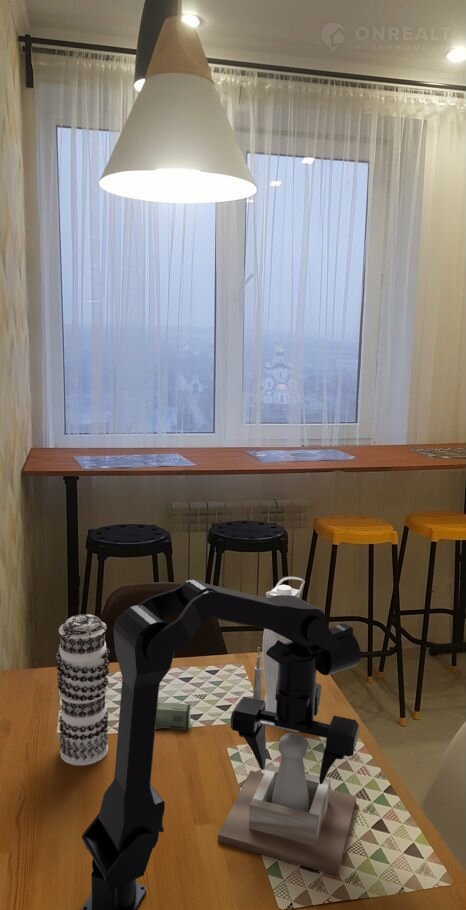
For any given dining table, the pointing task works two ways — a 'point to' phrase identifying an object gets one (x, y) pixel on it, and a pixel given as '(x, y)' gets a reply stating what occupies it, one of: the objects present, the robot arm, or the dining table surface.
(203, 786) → the dining table surface
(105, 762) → the dining table surface
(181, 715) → the medication box
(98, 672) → the decorative candle
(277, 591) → the skyscraper
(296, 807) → the salt shaker
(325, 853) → the socket board
